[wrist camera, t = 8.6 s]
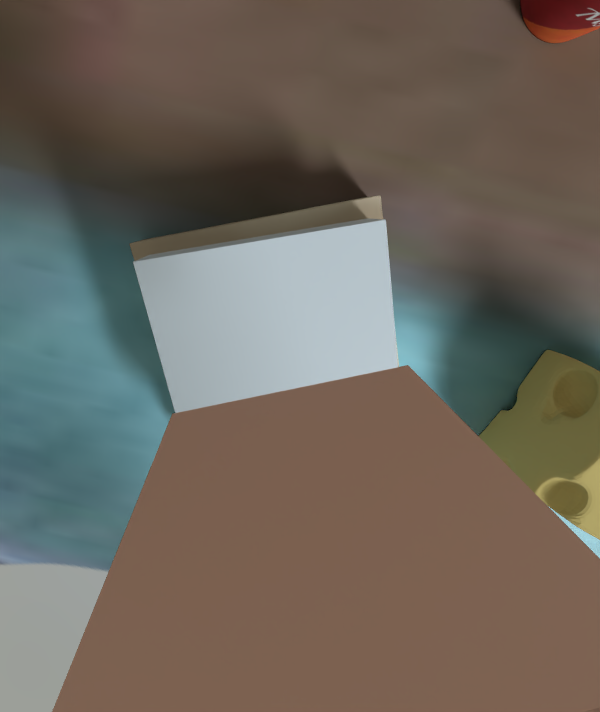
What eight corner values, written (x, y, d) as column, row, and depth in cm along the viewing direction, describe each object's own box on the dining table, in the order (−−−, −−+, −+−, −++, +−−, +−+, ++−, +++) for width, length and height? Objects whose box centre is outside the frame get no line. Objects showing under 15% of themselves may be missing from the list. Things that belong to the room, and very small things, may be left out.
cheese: (470, 442, 38) (541, 518, 29) (547, 338, 35) (653, 385, 26) (555, 485, 40) (646, 569, 31) (632, 392, 38) (757, 452, 29)
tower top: (386, 412, 32) (404, 438, 29) (200, 446, 32) (193, 478, 28) (367, 218, 28) (385, 219, 24) (149, 254, 27) (132, 261, 23)
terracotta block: (426, 550, 15) (651, 992, 7) (228, 594, 15) (193, 1115, 6) (408, 365, 13) (719, 679, 4) (172, 413, 12) (-5, 853, 4)
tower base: (388, 395, 36) (404, 417, 33) (201, 435, 36) (195, 461, 32) (364, 197, 31) (380, 195, 27) (144, 239, 30) (129, 243, 27)
